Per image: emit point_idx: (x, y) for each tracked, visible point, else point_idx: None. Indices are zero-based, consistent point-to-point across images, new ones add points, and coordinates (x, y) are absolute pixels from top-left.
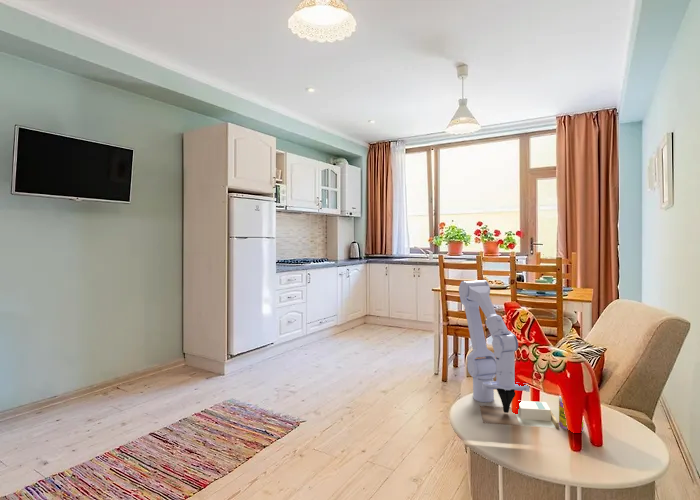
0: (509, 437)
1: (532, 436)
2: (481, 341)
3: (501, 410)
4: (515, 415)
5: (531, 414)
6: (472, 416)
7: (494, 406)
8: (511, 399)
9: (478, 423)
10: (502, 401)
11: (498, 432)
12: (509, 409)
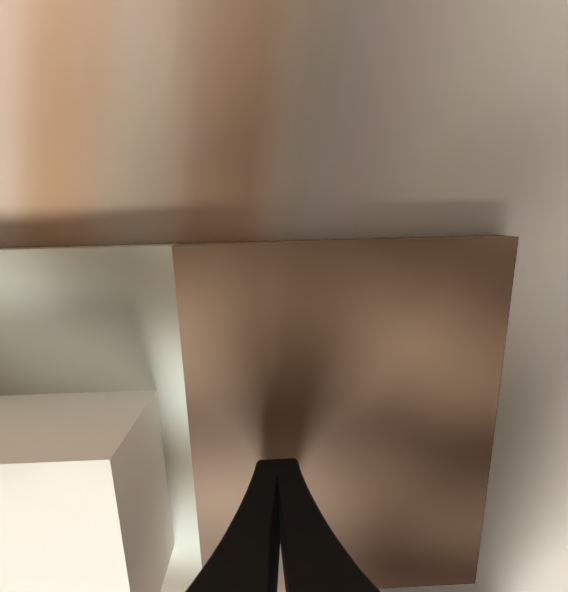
0: (302, 23)
1: (84, 90)
2: None
3: None
4: (198, 451)
5: (26, 421)
6: (549, 409)
7: None
8: (200, 590)
9: (529, 283)
10: (336, 547)
11: (388, 122)
12: None
